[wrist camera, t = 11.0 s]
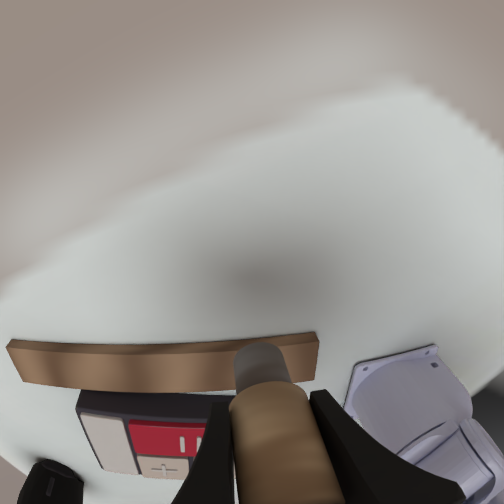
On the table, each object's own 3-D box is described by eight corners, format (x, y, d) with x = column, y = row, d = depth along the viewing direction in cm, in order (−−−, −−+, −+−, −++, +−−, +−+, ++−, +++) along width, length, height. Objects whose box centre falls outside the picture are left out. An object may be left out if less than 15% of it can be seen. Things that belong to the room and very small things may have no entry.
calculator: (245, 481, 25) (100, 475, 22) (238, 451, 29) (105, 444, 26) (261, 425, 21) (71, 414, 18) (251, 387, 25) (82, 378, 22)
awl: (293, 331, 13) (356, 486, 6) (289, 380, 15) (334, 519, 7) (222, 338, 13) (239, 508, 6) (226, 387, 14) (244, 534, 7)
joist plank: (314, 332, 22) (319, 341, 21) (310, 370, 24) (314, 379, 23) (11, 339, 19) (5, 347, 18) (28, 373, 21) (23, 381, 20)
